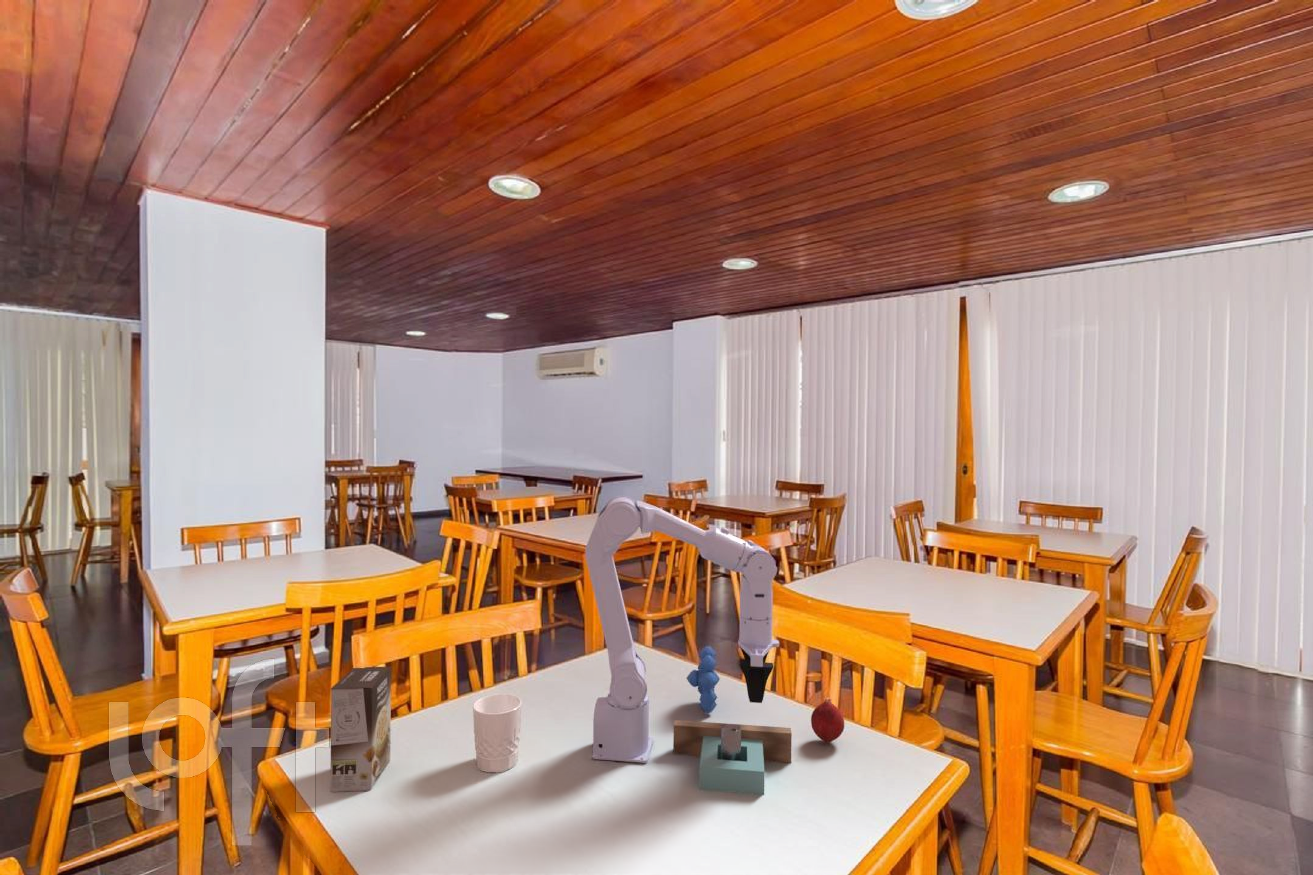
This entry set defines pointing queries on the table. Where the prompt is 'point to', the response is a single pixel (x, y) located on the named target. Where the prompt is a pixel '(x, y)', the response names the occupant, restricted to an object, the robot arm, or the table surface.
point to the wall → (773, 738)
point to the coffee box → (360, 728)
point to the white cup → (497, 731)
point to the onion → (827, 721)
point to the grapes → (705, 679)
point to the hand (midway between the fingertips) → (755, 692)
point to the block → (732, 767)
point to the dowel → (731, 742)
